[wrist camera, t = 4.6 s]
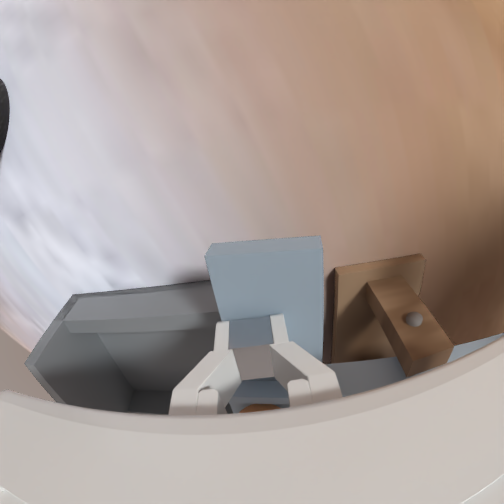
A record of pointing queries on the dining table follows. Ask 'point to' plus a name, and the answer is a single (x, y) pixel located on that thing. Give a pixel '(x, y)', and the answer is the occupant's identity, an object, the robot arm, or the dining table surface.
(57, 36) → the dining table surface
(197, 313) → the tray
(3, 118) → the travel mug
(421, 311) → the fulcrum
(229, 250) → the lever
